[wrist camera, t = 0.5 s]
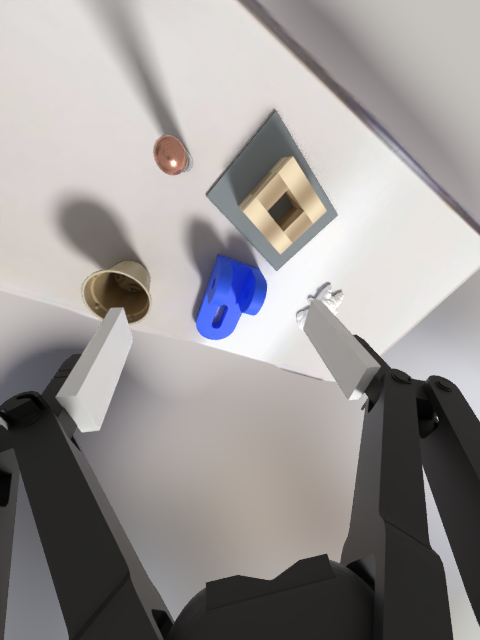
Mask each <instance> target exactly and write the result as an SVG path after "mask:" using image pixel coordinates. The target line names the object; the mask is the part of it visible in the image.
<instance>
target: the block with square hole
mask: <svg viewBox="0 0 480 640" xmlns="http://www.w3.org/2000/svg"><path fill="white" fill-rule="evenodd" d="M283 194H284V195H285V196H286V197H287V199H288V200H289V202H290V203H291V204H292V206H293V207H292V208H291V209H290V210H289V211H288V212H287V213H286V214H285V215H284V216H283V217H282V218H281V219H280V220H279V221H278V222H277V223H276V222H275V221H274V219H273V218H272V217H271V216H270V214H269V213H268V212H267V211H268V210H269V209H270V208H271V207H272V206H273V205H274V204H275V203H276V202H277V201H278V199H279V198H280V197H281V196H282V195H283ZM238 207H239V208H240V209H241V210H242V211H243V213H244V214H245V215H246V216H247V217H248V218H249V219H250V221H251V222H252V223H253V224H254V225H255V226H256V228H257V229H258V230H259V231H260V232H261V233H262V234H263V236H264V237H265V238H266V239H267V240H268V241H269V242H270V244H271V245H272V246H273V247H274V248H275V249H276V250H277V251H278V252H279V254H280V255H281V254H282V253H283V252H284V251H285V250H286V249H287V248H288V247H289V246H290V245H291V244H292V243H293V242H295V241H296V240H297V239H298V238H299V237H300V236H301V235H302V234H303V233H304V232H305V231H306V230H307V229H308V228H309V227H311V226H312V225H313V224H314V223H315V222H316V221H317V220H318V219H319V218H320V217H321V216H322V215H323V214H324V213H325V212H327V210H326V209H325V207H324V205H323V204H322V202H321V201H320V199H319V197H318V196H317V194H316V192H315V191H314V189H313V188H312V186H311V184H310V183H309V181H308V179H307V178H306V176H305V175H304V173H303V171H302V170H301V168H300V167H299V165H298V163H297V162H296V160H295V158H294V157H293V156H291V157H283V158H281V159H280V160H279V161H278V162H277V163H276V164H275V166H274V167H273V168H272V169H271V170H270V171H269V172H268V173H267V175H266V176H265V177H264V178H263V179H262V180H261V181H260V182H259V184H258V185H257V186H256V187H255V188H254V189H253V190H252V191H251V193H250V194H249V195H248V196H247V197H246V198H245V199H244V200H243V202H242V203H241V204H240V205H239V206H238Z"/></svg>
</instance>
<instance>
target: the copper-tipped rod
mask: <svg viewBox="0 0 480 640" xmlns="http://www.w3.org/2000/svg"><path fill="white" fill-rule="evenodd" d="M153 153H154V159H155V161H156V164H157V165H158V167H159V168H160V169H161V170H162V171H163V172H164V173H166V174H168V175H178V174H180V173H182V172H187V171H189V170H190V169H191V168H192V165H193V161H192V157H191V156H190V154H189V153H188V152H187V151H186V150H185V148H184V146H183V144H182V143H181V142H180V141H179V140H178V139H177V138H175V137H173V136H171V135H163V136H161V137H159V138H158V139H157V141H156V142H155V145H154V150H153Z"/></svg>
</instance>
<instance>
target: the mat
mask: <svg viewBox="0 0 480 640" xmlns="http://www.w3.org/2000/svg"><path fill="white" fill-rule="evenodd" d="M291 156H293V157H294V158H295V160H296V162H297V163H298V165H299V167H300V168H301V170H302V171H303V173H304V175H305V176H306V178H307V179H308V181H309V183H310V184H311V186H312V188H313V189H314V191H315V192H316V194H317V196H318V197H319V199H320V201H321V202H322V204H323V205H324V207H325V209H326V210H327V212H325V213H324V214H323V215H322V216H321V217H320V218H319V219H318V220H317V221H316V222H315V223H314V224H313V225H312V226H311V227H309V228H308V229H307V230H306V231H305V232H304V233H303V234H302V235H301V236H300V237H299V238H298V239H297V240H296V241H295V242H293V243H292V244H291V245H290V246H289V247H288V248H287V249H286V250H285V251H284V252H283V253H282V254H281V255H280V254H279V252H278V251H277V250H276V249H275V248H274V247H273V246H272V245H271V244H270V242H269V241H268V240H267V239H266V238H265V237H264V236H263V234H262V233H261V232H260V231H259V230H258V229H257V228H256V226H255V225H254V224H253V223H252V222H251V221H250V219H249V218H248V217H247V216H246V215H245V214H244V213H243V211H242V210H241V209H240V208H239V207H238V206H239V205H240V204H241V203H242V202H243V200H244V199H245V198H246V197H247V196H248V195H249V194H250V193H251V191H252V190H253V189H254V188H255V187H256V186H257V185H258V184H259V182H260V181H261V180H262V179H263V178H264V177H265V176H266V175H267V173H268V172H269V171H270V170H271V169H272V168H273V167H274V166H275V164H276V163H277V162H278V161H279V160H280V159H281V158H283V157H291ZM207 197H208V198H209V199H210V201H211V202H212V203H213V204H214V205H215V206H216V207H217V208H218V209H219V210H220V211H221V212H222V213H223V214H224V215H225V217H226V218H227V219H228V220H229V221H230V222H231V223H232V224H233V225H234V226H235V227H236V228H237V229H238V230H239V231H240V233H241V234H242V235H243V236H244V237H245V238H246V239H247V240H248V241H249V242H250V243H251V244H252V245H253V246H254V247H255V249H256V250H257V251H258V252H259V253H260V254H261V255H262V256H263V257H264V258H265V259H266V260H267V261H268V262H269V263H270V265H271V266H272V267H273V268H274V269H275V270H276V271H277V270H279V269H280V268H281V267H282V266H283V265H284V264H285V263H286V262H287V261H288V260H289V259H291V258H292V257H293V256H294V255H295V254H296V253H297V252H298V251H299V250H300V249H302V248H303V247H304V246H305V245H306V244H307V243H308V242H309V241H310V240H311V239H312V238H314V237H315V236H316V235H317V234H318V233H319V232H320V231H321V230H322V229H323V228H325V227H326V226H327V225H328V224H329V223H330V222H331V221H332V220H333V219H334V218H335V217H337V216H338V215H337V213H336V211H335V210H334V208H333V206H332V205H331V203H330V201H329V199H328V198H327V196H326V194H325V193H324V191H323V189H322V188H321V186H320V184H319V183H318V181H317V179H316V178H315V176H314V174H313V172H312V171H311V169H310V167H309V166H308V164H307V162H306V161H305V159H304V157H303V156H302V154H301V152H300V151H299V149H298V147H297V145H296V144H295V142H294V140H293V139H292V137H291V135H290V134H289V132H288V130H287V129H286V127H285V125H284V124H283V122H282V120H281V118H280V117H279V115H278V113H277V112H276V111H275V112H274V113H273V115H272V116H271V117H270V118H269V120H268V121H267V122H266V123H265V124H264V126H263V127H262V128H261V129H260V131H259V132H258V133H257V134H256V136H255V137H254V138H253V139H252V140H251V142H250V143H249V144H248V145H247V147H246V148H245V149H244V150H243V152H242V153H241V154H240V155H239V156H238V158H237V159H236V160H235V161H234V163H233V164H232V165H231V166H230V168H229V169H228V170H227V171H226V172H225V174H224V175H223V176H222V177H221V179H220V180H219V181H218V182H217V184H216V185H215V186H214V187H213V188H212V190H211V191H210V192H209V193H208V195H207ZM292 207H293V206H292V204H291V203H290V202H289V200H288V199H287V197H286V196H285V195H284V194H283V195H282V196H281V197H280V198H279V199H278V201H277V202H276V203H275V204H274V205H273V206H272V207H271V208H270V209H269V210H268V211H267V212H268V213H269V214H270V216H271V217H272V218H273V219H274V221H275V222H276V223H277V222H278V221H279V220H280V219H281V218H282V217H283V216H284V215H285V214H286V213H287V212H288V211H289V210H290V209H291V208H292Z"/></svg>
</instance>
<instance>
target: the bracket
mask: <svg viewBox="0 0 480 640" xmlns="http://www.w3.org/2000/svg"><path fill="white" fill-rule="evenodd" d="M266 292H267V282H266V280H265V278H264V276H263V275H262V273H261V271H260V269H259V268H256V267H253V266H251V265H248V264H245V263H242V262H239V261H236V260H233V259H231V258H228V257H225V256H222V255H219V254H218V257H217V260H216V262H215V265H214V268H213V271H212V274H211V277H210V280H209V283H208V286H207V289H206V291H205V294H204V297H203V300H202V303H201V306H200V309H199V312H198V315H197V322H196V326H197V330H198V332H199V333H200V334H201V335H202V336H203V337H205V338H208V339H212V340H219V339H223V338H226V337H227V336H229V335H230V334H231V333H232V332H233V331H234V329H235V327H236V325H237V323H238V320H239V318H240V316H241V314H242V313H246V314H249V315H256V314H257V313H258V312H259V311H260V309H261V307H262V305H263V303H264V300H265V297H266ZM222 305H226V308H225V311H224V313H223V316H222V318H221V320H220V322H219V323H213V319H214V317H215V314H216V312H217V309H218V307H221V306H222Z"/></svg>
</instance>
